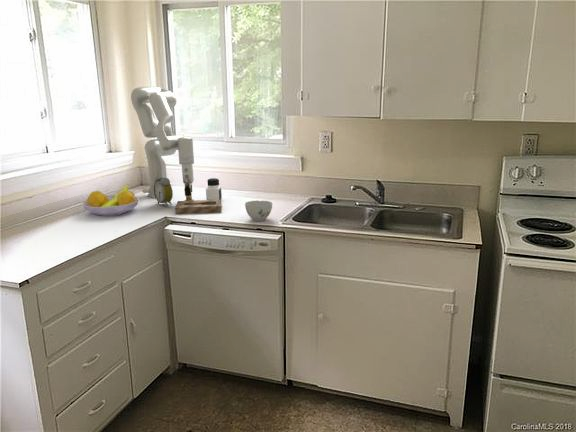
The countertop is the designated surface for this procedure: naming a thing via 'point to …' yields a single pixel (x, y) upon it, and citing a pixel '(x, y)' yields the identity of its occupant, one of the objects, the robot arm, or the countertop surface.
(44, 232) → the countertop surface
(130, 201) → the fruit bowl
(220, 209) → the keyhole plate
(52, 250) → the countertop surface
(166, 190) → the alarm clock
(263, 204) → the teacup
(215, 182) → the medicine bottle
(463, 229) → the countertop surface
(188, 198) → the peg
